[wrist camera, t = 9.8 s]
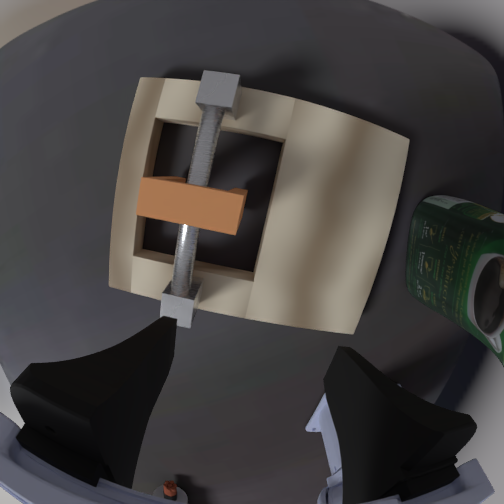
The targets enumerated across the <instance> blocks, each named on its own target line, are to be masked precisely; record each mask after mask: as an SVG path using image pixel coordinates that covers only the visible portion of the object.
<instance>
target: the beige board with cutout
mask: <svg viewBox="0 0 504 504" xmlns="http://www.w3.org/2000/svg"><path fill="white" fill-rule="evenodd" d="M200 82H201V81H195V80H184V79H170V78H142V77H141V78H140V81H139V85H138V88H137V91H136V95H135V98H134V102H133V106H132V110H131V114H130V118H129V122H128V126H127V131H126V135H125V140H124V145H123V150H122V155H121V160H120V166H119V172H118V178H117V185H116V192H115V200H114V209H113V218H112V229H111V243H110V262H109V286H110V287H113V288H117V289H120V290H124V291H128V292H131V293H135V294H139V295H143V296H147V297H151V298H155V299H159V300H161V299H162V292H163V291H164V289H165V288H166V287H167V285H168V284H169V282H170V281H171V280H172V274H173V266H174V258H175V256H173V255H169V254H164V253H160V252H155V251H151V250H146V249H143V240H144V231H145V223H146V217H145V216H140V215H136V209H137V202H138V195H139V188H140V182H141V177H152V176H153V171H154V165H155V160H156V155H157V150H158V145H159V141H160V136H161V132H162V128H163V123H164V122H166V123H175V124H183V125H191V126H198V127H199V123H200V119H201V115H202V111H201V109H200V108H199V107H198V105H197V104H196V103H195V100H196V97H197V93H198V89H199V86H200ZM241 90H242V95H241V99H240V103H239V107H238V111H237V116H236V120H235V121H234V120H228V119H223V120H222V125H221V129H220V130H224V131H229V132H235V133H240V134H245V135H250V136H255V137H260V138H264V139H269V140H273V141H278V142H282V143H283V144H282V149H281V153H280V157H279V162H278V166H277V171H276V175H275V180H274V184H273V188H272V193H271V197H270V202H269V206H268V210H267V215H266V219H265V224H264V228H263V232H262V237H261V241H260V245H259V250H258V254H257V258H256V263H255V267H254V271H253V272H250V271H245V270H240V269H235V268H230V267H225V266H220V265H216V264H211V263H206V262H201V261H197V260H195V262H194V269H193V275H192V276H195V277H200V278H204V279H203V285H202V291H201V298H200V304H199V306H198V309H202V310H206V311H211V312H216V313H221V314H226V315H231V316H236V317H241V318H247V319H252V320H258V321H263V322H269V323H275V324H281V325H287V326H294V327H300V328H307V329H314V330H322V331H329V332H337V333H345V334H354V331H355V329H356V326H357V324H358V322H359V319H360V317H361V314H362V312H363V309H364V307H365V304H366V301H367V299H368V296H369V293H370V291H371V288H372V285H373V282H374V279H375V276H376V274H377V271H378V268H379V265H380V261H381V258H382V255H383V252H384V249H385V245H386V242H387V239H388V235H389V232H390V228H391V224H392V221H393V217H394V213H395V209H396V205H397V201H398V197H399V193H400V188H401V184H402V179H403V174H404V169H405V164H406V158H407V153H408V147H409V140H410V139H408V138H405V137H403V136H401V135H399V134H397V133H394V132H392V131H390V130H387V129H385V128H383V127H380V126H378V125H375V124H373V123H370V122H367V121H365V120H362V119H360V118H357V117H354V116H351V115H348V114H345V113H343V112H340V111H337V110H333V109H330V108H327V107H324V106H321V105H317V104H314V103H310V102H307V101H303V100H299V99H296V98H292V97H288V96H284V95H279V94H275V93H271V92H266V91H261V90H256V89H251V88H245V87H241Z"/></svg>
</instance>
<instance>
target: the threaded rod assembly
mask: <svg viewBox="0 0 504 504" xmlns="http://www.w3.org/2000/svg"><path fill="white" fill-rule="evenodd" d="M241 95H242V90H241V80H240V75H236V74H230V73H223V72H215V71H206V70H204V72H203V75H202V79H201V82H200V86H199V89H198V93H197V97H196V100H195V103H196V104H197V105H198V107H199V108H200V109H201V111H202V115H201V119H200V123H199V127H198V131H197V136H196V140H195V145H194V149H193V154H192V159H191V163H190V168H189V173H188V178H187V183H188V184H194V185H199V186H205V187H208V184H209V179H210V174H211V169H212V165H213V160H214V155H215V151H216V146H217V142H218V137H219V133H220V129H221V125H222V120H223V119H228V120H234V121H235V120H236V116H237V111H238V107H239V103H240V99H241ZM199 232H200V228H198V227H194V226H189V225H184V224H179V230H178V237H177V244H176V251H175V258H174V266H173V274H172V280H171V281H170V282H169V284H168V285H167V287H166V288H165V289H164V291H163V292H162V299H161V311H160V318H161V317H162V316H167V317H172V318H176V319H177V325H178V326H182V327H187V328H191V325H192V322H193V320H194V317H195V314H196V312H197V309H198V306H199V304H200V298H201V291H202V285H203V279H204V278H200V277H195V276H192V275H193V269H194V262H195V256H196V250H197V244H198V238H199Z"/></svg>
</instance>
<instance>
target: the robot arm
mask: <svg viewBox="0 0 504 504" xmlns="http://www.w3.org/2000/svg"><path fill="white" fill-rule="evenodd" d="M176 327H177V319H176V318H172V317H167V316H162V317H161V318H159V319H158V320H156V321H155V322H153V323H152V324H150V325H149V326H148V327H146V328H145V329H143V330H141V331H140V332H138V333H137V334H135V335H134V336H132V337H130V338H128V339H126V340H125V341H123V342H121V343H119V344H117V345H115V346H113V347H110V348H108V349H105V350H103V351H100V352H97V353H94V354H91V355H87V356H84V357H80V358H76V359H71V360H66V361H59V362H48V363H31V364H30V365H29V366H28V367H27V368H26V369H25V370H24V371H23V372H22V373H21V374H20V376H19V377H18V378H17V379H16V380H15V381H14V382H13V383H12V385H11V387H10V392H11V397H12V399H13V402H14V404H15V406H16V408H17V409H18V411H19V413H20V415H21V417H22V419H23V421H24V422H25V424H24V426H23V428H22V429H20V427H19V426H18V425H17V424H16V423H14V422H13V421H12V420H11V419H9V418H8V417H7V416H5V415H4V414H3V413H1V412H0V487H2V488H3V489H4V490H5V491H7V492H8V493H9V494H11V495H12V496H13V497H15V498H16V499H17V500H19V501H20V502H21V503H23V504H187V503H182V502H177V501H172V500H168V499H164V498H160V497H156V496H152V495H149V494H145V493H142V492H139V491H135V490H132V484H133V479H134V474H135V469H136V465H137V460H138V456H139V452H140V448H141V444H142V441H143V437H144V434H145V430H146V427H147V423H148V420H149V417H150V415H151V412H152V410H153V407H154V405H155V403H156V401H157V398H158V396H159V394H160V392H161V390H162V387H163V385H164V383H165V381H166V378H167V376H168V374H169V371H170V367H171V364H172V361H173V357H174V349H175V338H176ZM323 380H324V388H325V394H324V395H323V397H322V399H321V401H320V403H319V405H318V407H317V408H316V410H315V412H314V414H313V415H312V417H311V419H310V421H309V422H308V424H307V426H306V431H309V432H321V433H322V437H323V441H324V445H325V449H326V453H327V457H328V461H329V466H330V470H331V474H332V476H330V477H328V478H327V483H328V487H325V488H323V489H322V491H321V493H320V495H319V497H318V501H317V504H481V503H482V502H483V501H485V500H486V499H487V498H488V497H489V496H491V495H492V494H493V493H494V492H495V491H494V489H493V487H492V486H491V483H490V481H489V480H488V478H487V476H486V474H485V473H484V471H483V469H482V468H481V466H480V464H479V462H478V461H477V459H472V460H470V461H468V462H466V463H464V464H462V465H460V466H459V467H458V468H456V467H455V465H454V464H455V463H456V462H457V461H458V459H457V458H456V456H455V455H456V454H457V453H458V452H459V451H460V450H461V449H462V448H463V447H464V446H465V445H466V444H467V442H468V441H469V440H470V439H471V438H472V437H473V435H474V433H475V432H476V429H477V425H476V423H475V422H474V420H473V419H472V417H471V416H470V415H468V414H464V413H459V412H455V411H451V410H448V409H445V408H442V407H439V406H436V405H434V404H432V403H429V402H427V401H425V400H423V399H421V398H419V397H417V396H415V395H413V394H412V393H410V392H408V391H407V390H405V389H403V388H402V387H401V385H400V384H396V383H395V382H393V381H392V380H391V379H389V378H388V377H387V376H385V375H384V374H383V373H382V372H380V371H379V370H378V369H377V368H375V367H374V366H373V365H372V364H371V363H369V362H368V361H367V360H366V359H365V358H364V357H362V356H361V355H360V354H359V353H357V352H356V351H355V350H353V349H352V348H350V347H342V346H338V349H337V351H336V353H335V355H334V358H333V360H332V362H331V364H330V366H329V369H328V371H327V373H326V375H325V377H324V379H323Z"/></svg>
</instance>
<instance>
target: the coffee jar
mask: <svg viewBox="0 0 504 504" xmlns="http://www.w3.org/2000/svg"><path fill="white" fill-rule="evenodd" d="M406 284H407V288H408V290H409V292H410V294H411V295H412V296H413V297H415V298H416V299H417V300H419V301H420V302H421V303H423V304H424V305H426V306H428V307H429V308H431V309H432V310H434V311H436V312H437V313H439V314H441V315H443V316H444V317H446V318H448V319H449V320H451V321H453V322H454V323H456V324H457V325H459V326H460V327H462V328H463V329H465V330H466V331H467V332H469V333H470V334H472V335H473V336H474V337H476V338H477V339H479V340H480V341H481V342H482V343H484V344H485V345H486V346H487V347H488V348H489V349H490V350H491V351H492V352H493V353H494V354H495V355H496V356H497V357H498V359H499V360H500V362H501V363H502V365H503V367H504V214H501V213H499V212H497V211H494V210H492V209H489V208H487V207H484V206H482V205H479V204H476V203H473V202H471V201H467V200H464V199H460V198H456V197H451V196H445V195H438V196H431V197H428V198H426V199H424V200H423V201H422V202H420V203H419V205H418V206H417V207H416V209H415V211H414V213H413V216H412V220H411V225H410V231H409V237H408V246H407V256H406Z"/></svg>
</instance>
